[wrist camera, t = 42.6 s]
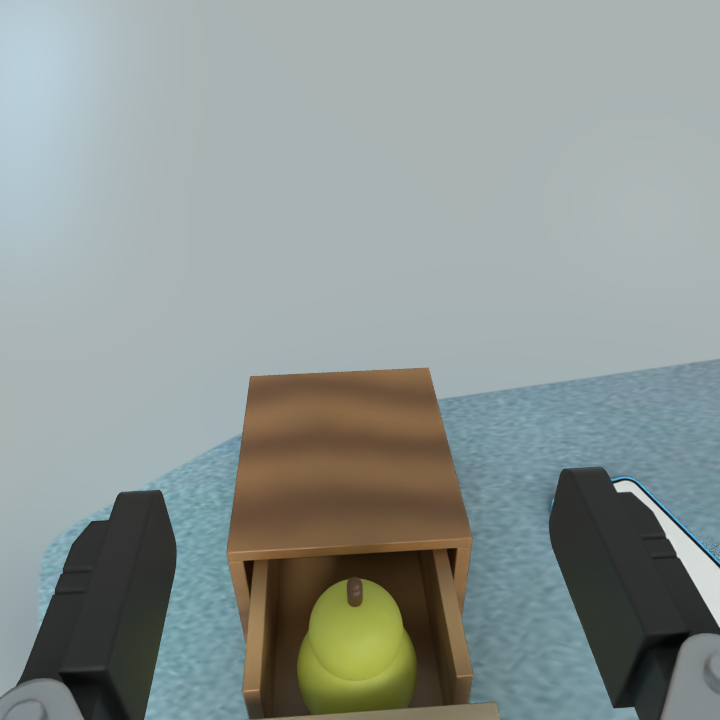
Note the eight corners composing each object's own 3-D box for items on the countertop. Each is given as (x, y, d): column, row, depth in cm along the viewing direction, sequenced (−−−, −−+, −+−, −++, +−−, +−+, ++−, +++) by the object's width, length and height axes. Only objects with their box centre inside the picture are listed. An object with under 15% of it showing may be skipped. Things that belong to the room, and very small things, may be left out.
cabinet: (460, 629, 38) (473, 538, 34) (245, 643, 38) (226, 552, 33) (423, 452, 51) (428, 367, 46) (262, 461, 51) (249, 375, 46)
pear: (338, 788, 30) (329, 674, 24) (281, 682, 34) (261, 563, 28) (438, 716, 32) (452, 598, 26) (373, 626, 37) (373, 507, 31)
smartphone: (630, 473, 48) (806, 646, 36) (627, 484, 48) (799, 658, 37) (545, 499, 46) (702, 691, 34) (543, 510, 46) (696, 703, 35)
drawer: (509, 911, 27) (532, 854, 23) (229, 935, 26) (204, 881, 22) (437, 550, 42) (444, 479, 38) (259, 561, 42) (247, 489, 38)
